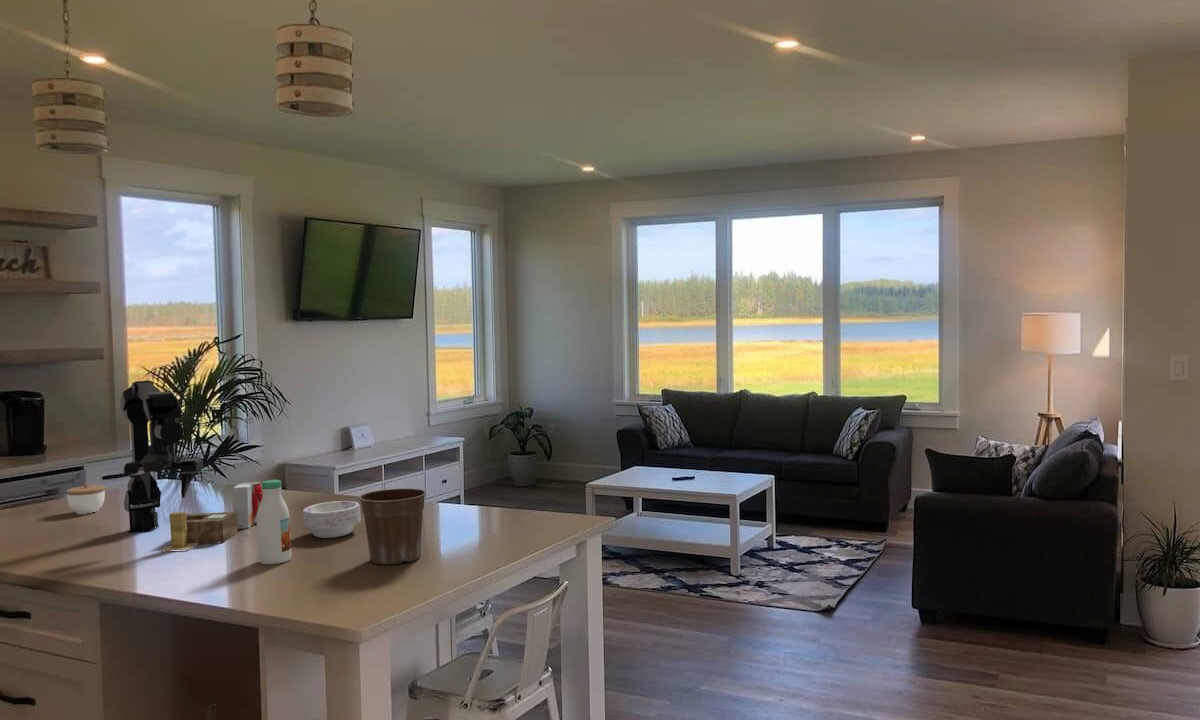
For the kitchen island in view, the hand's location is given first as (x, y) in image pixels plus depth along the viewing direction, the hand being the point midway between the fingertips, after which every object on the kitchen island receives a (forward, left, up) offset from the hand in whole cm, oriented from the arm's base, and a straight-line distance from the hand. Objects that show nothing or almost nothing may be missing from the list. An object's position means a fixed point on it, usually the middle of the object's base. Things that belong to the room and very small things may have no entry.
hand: (165, 498), depth 247 cm
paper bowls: (+42, +6, -13) cm, 44 cm away
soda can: (+14, +25, -13) cm, 32 cm away
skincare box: (+13, +20, -13) cm, 28 cm away
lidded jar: (-46, +51, -13) cm, 70 cm away
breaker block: (+7, +7, -13) cm, 16 cm away
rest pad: (+4, -2, -13) cm, 14 cm away
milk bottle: (+34, -20, -13) cm, 42 cm away
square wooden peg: (+4, -2, -13) cm, 13 cm away
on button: (+11, +7, -10) cm, 16 cm away
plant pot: (+64, -23, -13) cm, 69 cm away
